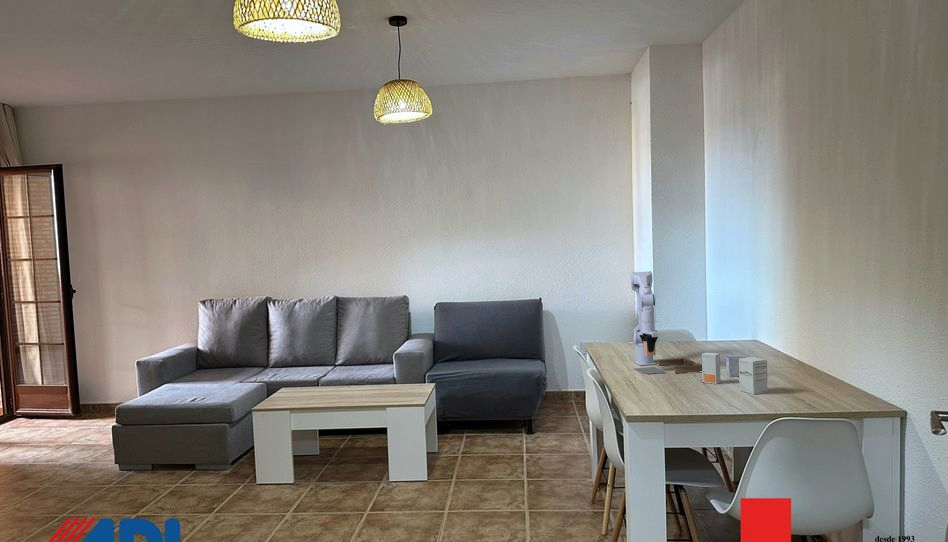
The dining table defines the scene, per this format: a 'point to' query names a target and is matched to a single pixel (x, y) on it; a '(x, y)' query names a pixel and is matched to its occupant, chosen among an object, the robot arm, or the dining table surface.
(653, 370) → the grey mat
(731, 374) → the medicine box
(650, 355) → the terracotta block
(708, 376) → the skincare box
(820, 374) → the dining table surface
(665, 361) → the open side frame
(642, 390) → the dining table surface
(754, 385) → the supplement box
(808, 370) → the dining table surface
